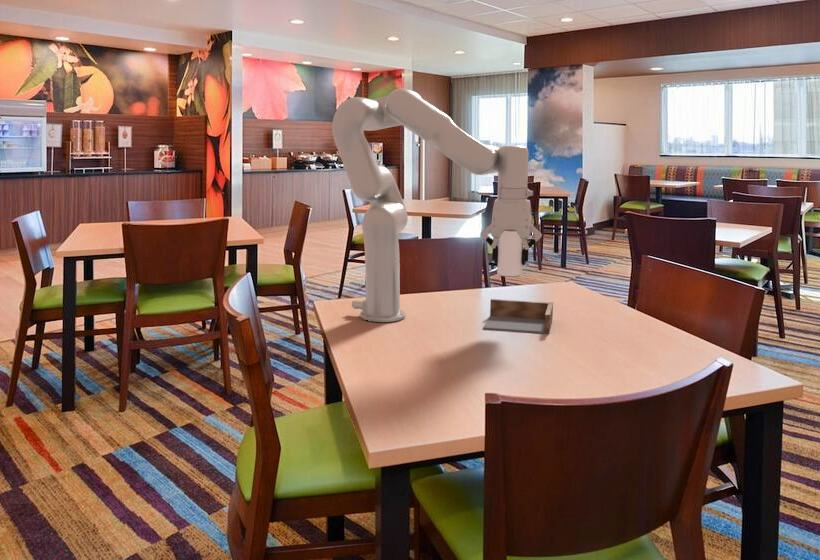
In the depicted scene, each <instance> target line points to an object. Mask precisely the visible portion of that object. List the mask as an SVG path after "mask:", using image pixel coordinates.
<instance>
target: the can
mask: <svg viewBox="0 0 820 560" xmlns="http://www.w3.org/2000/svg"><path fill="white" fill-rule="evenodd" d="M503 231H504V232H503V233H502V234H501V236H500V238H499V241H498V263H497V264H496V265H497V268H496V269H497V271H496V273H497V274H498V276H501V277H505V278H506V277H507V278H518V277H520V276H522V275H523V265H522V250H523V247H524V246H523V244H522V239H520V236H519V235H518V234H517V232H516V231H507V230H503Z"/></svg>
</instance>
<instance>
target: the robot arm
mask: <svg viewBox="0 0 820 560" xmlns="http://www.w3.org/2000/svg"><path fill="white" fill-rule="evenodd" d="M331 125H332V126H331V127H332V128H331V130H332V137H333V141H334V144H335V147H336V149H337V151H338V154H339V157H340V159H341V162H342V164H343V167H344V170H345V172H346V175H347V178H348V181H349V183H350V186H351V189H352V191H353V193H354V195H355V197H357V198H358V199H359V200H360V201H361V200H362V201H364V202H368V203H369V205H370V207H369V208H367V210H366V212H365V213H364V215H363V217H362V224H361V225H362V226H361V229H362V235H363V244H364V265H365V266H364V267H365V268H364V270H365V271H364V272H365V273H364V274H365V275H364V276H365V299H364V300H363V301H362V300H361V301H360V300H352V302H351V307H352V308H353V309H355V310H358V309H359V310H361V311H360V314H359V317H360V319H362V320H364V321H366V320H368V321H367V322H372V321H373V323H390V322H391V323H392V322H397V321H398V322H399V321H400V320H403V319H405V318H406V312H405V311H404V310H403V309H401V308H400V304H401V303H400V300H401V299H400V296H401V295H400V294H401V292H400V290H401V289H400V287H401V285H400V282H401V281H400V278H401V277H400V275H401V272H400V268H401V264H400V262H401V259H400V256H401V255H400V243H399V237H398V235H399V234H400V233H401V232H402V231H403V230H404V229H405V228H406V227H407V224H408V220H409V219H408V218H409V216H408V211H407V208H406V206H405V202H404V200H403V198H402V195H401V193H400V189H399V187H398V184H397V181H396V178H395V177H394V175H393V174H392V173H391V171H390V169H388V168H387V167H385V166H383V165H380V164H378V163H377V161H376V158H375V156H374V153H373V151H372V147H371V145H370V144H369V142H368V140H367V138H366V135H365V131H368V132H371V131H372V132H373V131H380V130H383V129H388V128H393V127H399V126H402V127H404V128H405V129H407V130H408V131H410V132H412V133H413V134H414V135H416V136H417V137H419V138H421V140H424V141H425V142H426V143H428V144H429V145H430V146H431V147H433V148H434V149H435V150H437V151H439V152H440V153H442V155H444V156H445V157H446V158H448V159H449V160H450V161H453V162H454V163H455V164H457V165H458V166H460V167H462V168H463V169H464V170H465V171H467V172H469V173H471V174H473V175H476V176H483V175H488V174H494V173H497V198H496V199H495V200H494V202H493V208H492V215H491V216H492V217H491V223H490V224H489V225H488V226H487V227H485V229H483V230H482V231H481V232H480V235H481V237H482V238H483V239H484V240H485V242H486V243H487V244H488V245H489V246H490V247H491V249H492V253H491V254H492V255H491V256H492V261H494V262H493V263H494V264H495V265H498V241H499V238H500V236H501V234H502V233H503V232H504V231H503V230H507V231H516V232H517V234H518V235H519V236H520V239H522V244H523V250H522V266H525V265H526V262H529V249H530V248H532V246H534V245H535V244H536V243H537V242H538V241H539V240H540V239H542V236H543V234H542V233H541V232H540V231H539V230H538V229H537V228H536V227H535V226H534V225H533V224H532V219H533V218H532V217H533V216H532V206H531V199H528V197H530V196H531V197H532V196H534V190H530V189H529V187H528V183H529V182H528V181H529V180H528V178H529V156H530V155H529V149H528V147H526V146H524V145H503V146H496V145H490V144H483V143H482V142H480V141H478V140H477V139H475V138H474V137H472V136H471V135H469V134H468V133H467V132H465V131H464V130H463V129H461V128H460V127H459V126H458V125H456V123H454V121H453V120H452V118H451V117H450V116H449V115H448V114H446V113H445V112H443V111H442V110H439V109H438V108H437V107H435V106H434V105H432V104H431V103H429V102H427V101H426V100H424V99H423V98H422V97H421V95H420V94H419V93H417V92H416V91H415V90H410V89H407V88H404V87H402V88H400V87H399V88H395V89H394V90H393V91H391V92H389V94H388V95H387V96H381V97H377V98H376V97H375V98H372V99H371V98H367V97H361V96H355V97H354V96H353V97H350V98H348V99H346V100H345V101H343V102H342V103H341V104H340V105H339V106H338V108H337V110H336V111H335V113H334V116H333V118H332V124H331ZM489 233H490V234H491V237H490V235H489ZM532 234H533V235H534V237H532V239H530V241H529V240H528V239H529V238H530V236H531V235H532ZM493 238H494V239H493Z"/></svg>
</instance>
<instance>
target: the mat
mask: <svg viewBox="0 0 820 560" xmlns="http://www.w3.org/2000/svg"><path fill="white" fill-rule="evenodd" d="M482 329H483V330H487V331H490V330H491V331H503V332H516V333H517V332H519V333H533V334H545V332H544V331H545V319H534V318H519V317H504V316H490V315H489V317H488V319H487V320H486V322H485V323H484V325H483V327H482ZM550 332H551V330H550V331H549V332H546V333H549V334H550Z"/></svg>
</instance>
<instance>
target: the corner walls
mask: <svg viewBox="0 0 820 560" xmlns="http://www.w3.org/2000/svg"><path fill="white" fill-rule="evenodd" d="M489 304H490V311H489V317H490V316H504V317H519V318H534V319H545V331H544V332H545V334H547V335H550V333H546V332H549V331H550V332H551V328H552V323H553V313H554V312H553V311H554V302H546V301H532V300H514V299H498V298H491V299H490V303H489Z"/></svg>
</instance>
